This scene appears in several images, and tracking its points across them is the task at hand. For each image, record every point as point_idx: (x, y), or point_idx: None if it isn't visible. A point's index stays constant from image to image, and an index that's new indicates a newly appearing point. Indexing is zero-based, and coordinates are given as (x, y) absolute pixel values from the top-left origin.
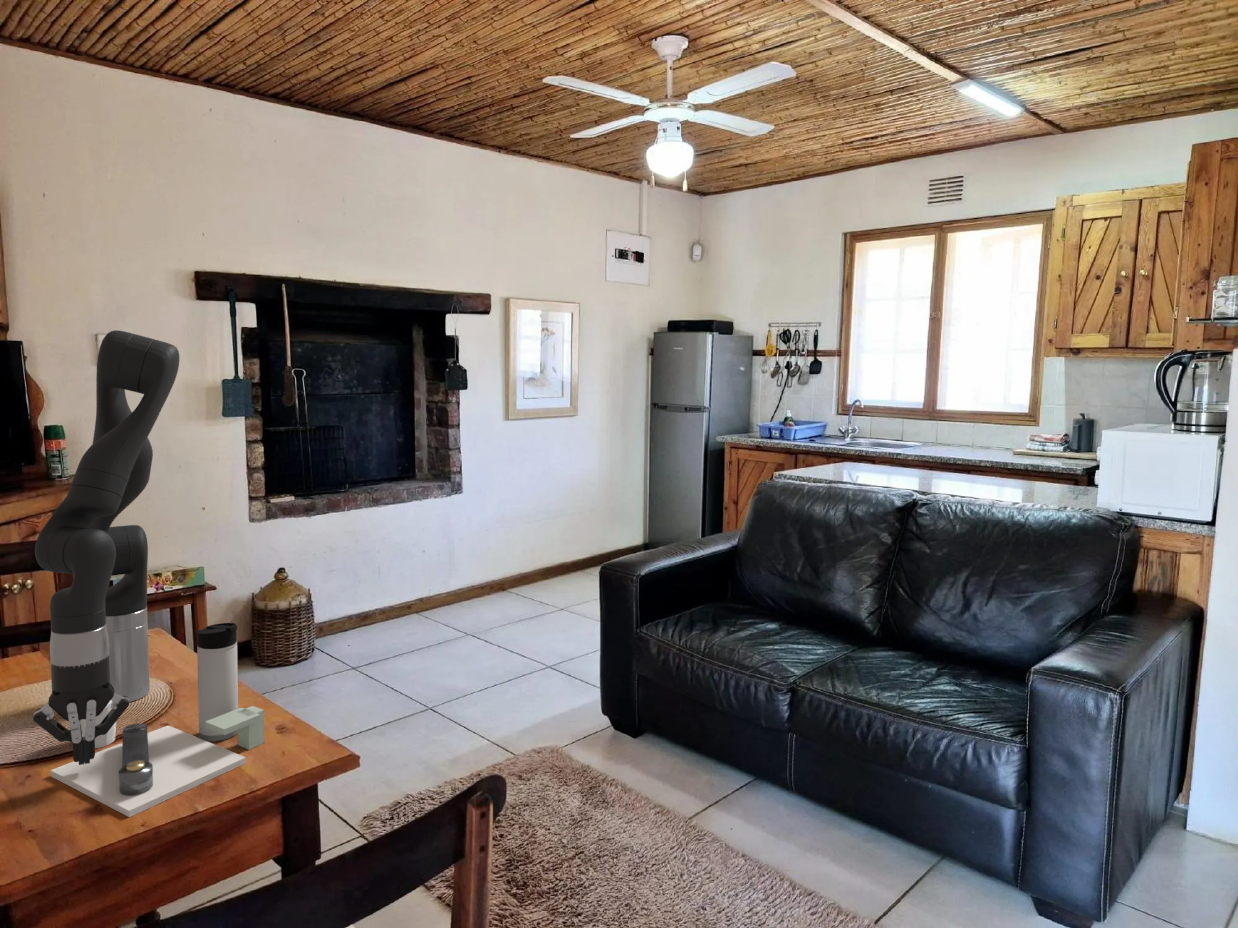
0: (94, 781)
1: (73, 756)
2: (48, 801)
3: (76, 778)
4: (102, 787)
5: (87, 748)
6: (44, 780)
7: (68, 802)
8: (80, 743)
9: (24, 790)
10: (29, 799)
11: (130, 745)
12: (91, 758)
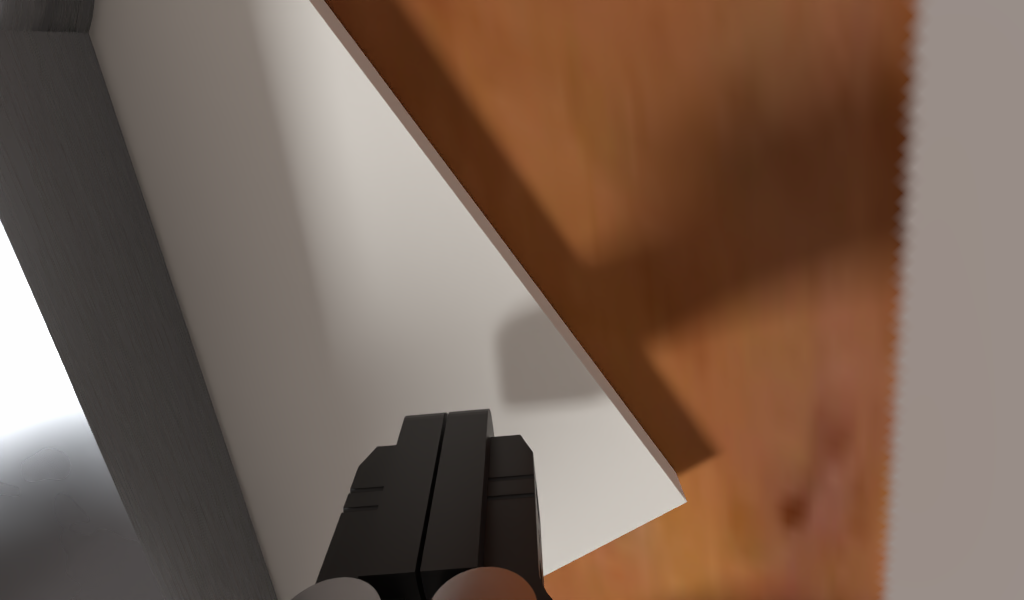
0: (366, 234)
1: (530, 472)
2: (665, 112)
3: (506, 329)
4: (274, 95)
5: (393, 510)
6: (707, 432)
7: (522, 34)
8: (449, 564)
9: (818, 342)
10: (789, 197)
11: (64, 524)
12: (392, 449)
